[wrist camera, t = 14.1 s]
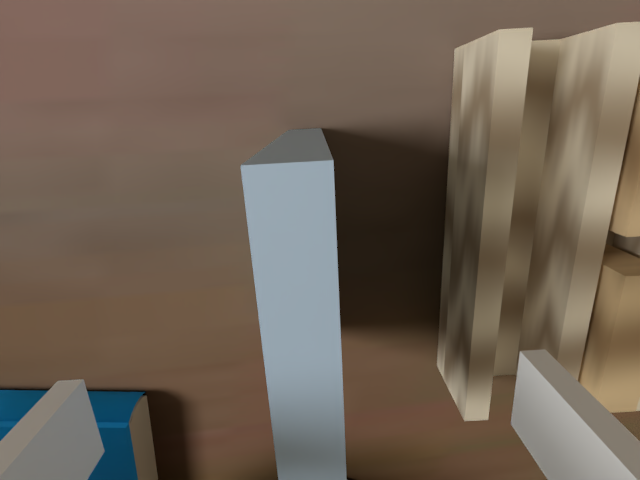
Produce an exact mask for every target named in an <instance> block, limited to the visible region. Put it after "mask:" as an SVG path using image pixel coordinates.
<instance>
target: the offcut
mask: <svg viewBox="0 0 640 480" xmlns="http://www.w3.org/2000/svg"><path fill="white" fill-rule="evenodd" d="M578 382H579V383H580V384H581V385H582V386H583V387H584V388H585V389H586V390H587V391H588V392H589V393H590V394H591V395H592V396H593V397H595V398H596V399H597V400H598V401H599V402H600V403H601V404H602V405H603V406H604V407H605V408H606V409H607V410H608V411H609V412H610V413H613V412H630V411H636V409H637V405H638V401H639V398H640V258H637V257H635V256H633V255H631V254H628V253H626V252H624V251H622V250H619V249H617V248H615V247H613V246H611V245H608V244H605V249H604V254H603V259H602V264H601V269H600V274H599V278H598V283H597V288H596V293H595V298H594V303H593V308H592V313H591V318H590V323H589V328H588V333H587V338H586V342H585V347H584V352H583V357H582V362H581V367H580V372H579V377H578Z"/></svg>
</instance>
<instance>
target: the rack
mask: <svg viewBox="0 0 640 480" xmlns="http://www.w3.org/2000/svg"><path fill="white" fill-rule="evenodd" d="M532 33H533V28H517V29H499V30H497V31H495V32H492V33H490V34H488V35H486V36H483V37H481V38H479V39H476V40H474V41H472V42H469V43H467V44H465V45H462V46H460V47H458V48H456V49H455V52H454V70H453V88H452V106H451V124H450V142H449V160H448V177H447V195H446V213H445V231H444V249H443V267H442V285H441V303H440V320H439V338H438V356H437V367H438V369H439V371H440V373H441V375H442V377H443V379H444V381H445V383H446V385H447V387H448V389H449V391H450V393H451V395H452V397H453V399H454V401H455V403H456V405H457V407H458V409H459V411H460V413H461V415H462V417H463V419H464V421H476V420H488V416H489V408H490V399H491V390H492V382H493V376H498V375H516V377H517V371H518V363H519V355H520V351H527V350H542V349H545V350H546V351H547V352H548V353H549V354H550V355H551V356H552V357H553V358H554V359H556V360H557V361H558V362H559V363H560V364H561V365H562V366H563V367H564V368H565V369H566V370H567V371H568V372H569V373H570V374H571V375H572V376H573V377H574V378H575V379H576V380H577V381H578V377H579V372H580V367H581V362H582V357H583V352H584V347H585V342H586V338H587V333H588V328H589V323H590V318H591V313H592V308H593V303H594V298H595V293H596V288H597V283H598V278H599V274H600V269H601V264H602V259H603V254H604V249H605V244H608V245H611V246H613V247H615V248H617V249H619V250H622V251H624V252H626V253H628V254H631V255H633V256H635V257H637V258H640V236H636V237H625V236H622V235H620V234H617V233H615V232H612V231H610V230H608V229H609V224H610V219H611V214H612V210H613V205H614V200H615V195H616V190H617V185H618V180H619V175H620V170H621V165H622V160H623V155H624V151H625V146H626V141H627V136H628V131H629V126H630V121H631V116H632V111H633V106H634V101H635V96H636V91H637V87H638V82H639V77H640V22H625V23H615V24H612V25H608V26H605V27H601V28H598V29H594V30H591V31H588V32H584V33H581V34H577V35H574V36H570V37H567V38H563V39H555V40H538V41H532ZM636 411H640V398H639V401H638V405H637V409H636Z"/></svg>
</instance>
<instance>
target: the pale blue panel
mask: <svg viewBox="0 0 640 480" xmlns="http://www.w3.org/2000/svg"><path fill="white" fill-rule="evenodd" d="M241 173H242V182H243V190H244V198H245V207H246V215H247V223H248V232H249V240H250V248H251V256H252V265H253V273H254V281H255V290H256V298H257V306H258V315H259V323H260V331H261V339H262V348H263V356H264V364H265V373H266V381H267V389H268V398H269V406H270V414H271V422H272V431H273V439H274V447H275V456H276V464H277V472H278V480H347V475H346V450H345V426H344V402H343V378H342V354H341V329H340V305H339V281H338V257H337V233H336V208H335V184H334V160H333V158H332V155H331V153H330V150H329V147H328V145H327V142H326V140H325V137H324V135H323V132H322V130H321V128H314V129H297V130H288V131H286V132H285V133H284V134H282V135H281V136H280V137H278V138H277V139H276V140H274V141H273V142H272V143H270V144H269V145H267V146H266V147H265V148H263V149H262V150H261V151H259V152H258V153H257V154H255V155H254V156H253V157H251V158H250V159H249V160H247V161H246V162H244V163H243V164H242V165H241Z"/></svg>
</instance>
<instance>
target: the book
mask: <svg viewBox="0 0 640 480" xmlns="http://www.w3.org/2000/svg"><path fill="white" fill-rule="evenodd" d="M47 392H48V391H41V390H0V441H1V440H2V439H3V438H4V437H5V436H6V435H7V434H8V433H9V432H10V431H11V429H12V428H13V427H14V426H15V425H16V424H17V423H18V422H19V421H20V420H21V419H22V418H23V417H24V416H25V415H26V414H27V413H28V412H29V411H30V409H31V408H32V407H33V406H34V405H35V404H36V403H37V402H38V401H39V400H40V399H41V398H42V397H43V396H44V395H45V394H46V393H47ZM87 393H88V396H89V400H90V403H91V406H92V410H93V413H94V417H95V420H96V423H97V427H98V430H99V433H100V437H101V440H102V444H103V447H104V450H105V452H104V453H103V455H102V457H101V458H100V460H99V461H98V463H97V465H96V466H95V468H94V470H93V471H92V473H91V475H90V476H89V478H88V479H87V480H158V474H157V467H156V460H155V453H154V445H153V438H152V431H151V423H150V416H149V409H148V401H147V395H143V394H144V393H145V392H113V391H87ZM132 416H133V417H132ZM131 419H132V420H131ZM130 422H131V423H130Z"/></svg>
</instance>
